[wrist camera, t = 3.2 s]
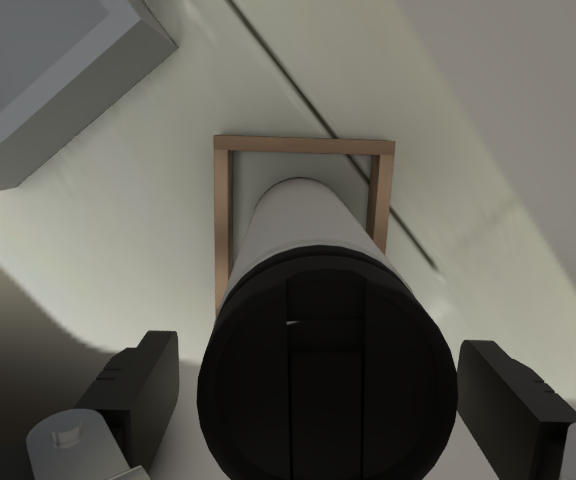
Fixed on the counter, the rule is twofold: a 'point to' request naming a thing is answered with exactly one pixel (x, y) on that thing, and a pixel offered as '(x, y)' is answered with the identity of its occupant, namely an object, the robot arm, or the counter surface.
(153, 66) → the gray bin
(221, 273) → the walnut holder
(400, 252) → the counter surface
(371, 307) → the travel mug
